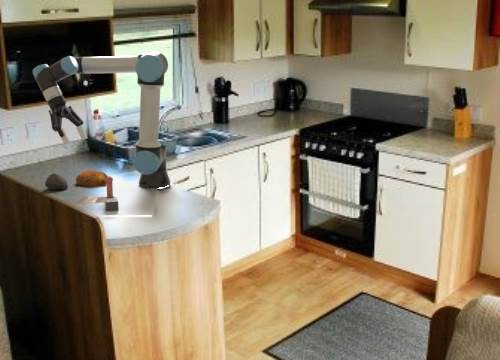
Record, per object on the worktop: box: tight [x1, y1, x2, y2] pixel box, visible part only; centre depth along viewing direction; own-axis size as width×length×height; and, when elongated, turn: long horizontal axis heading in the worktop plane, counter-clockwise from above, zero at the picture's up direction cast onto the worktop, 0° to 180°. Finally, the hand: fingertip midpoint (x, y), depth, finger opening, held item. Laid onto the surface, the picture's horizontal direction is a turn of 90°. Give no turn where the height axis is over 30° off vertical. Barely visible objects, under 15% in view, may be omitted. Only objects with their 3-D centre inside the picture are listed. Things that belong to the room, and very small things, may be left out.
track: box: [76, 196, 117, 204], centre depth 275 cm, size 16×8×1 cm, turn 94°
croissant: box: [75, 169, 109, 188], centre depth 301 cm, size 14×16×8 cm
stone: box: [44, 173, 69, 191], centre depth 293 cm, size 10×8×10 cm
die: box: [104, 197, 119, 212], centre depth 263 cm, size 5×5×5 cm
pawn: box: [105, 175, 115, 199], centre depth 274 cm, size 4×4×11 cm
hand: (76, 141), depth 275 cm, fingers open, 13 cm apart
